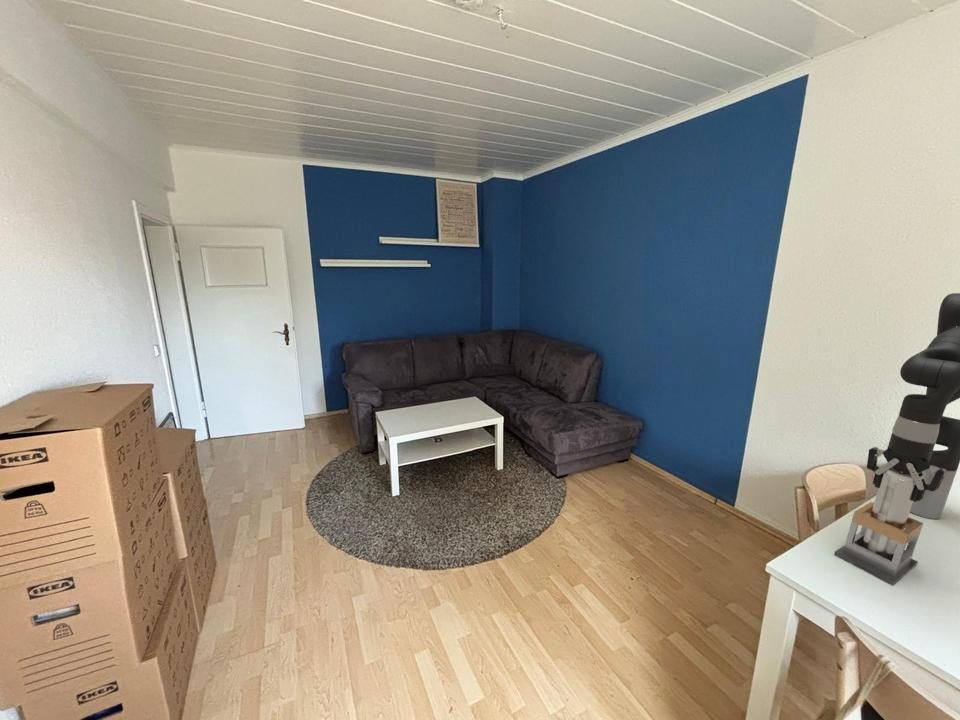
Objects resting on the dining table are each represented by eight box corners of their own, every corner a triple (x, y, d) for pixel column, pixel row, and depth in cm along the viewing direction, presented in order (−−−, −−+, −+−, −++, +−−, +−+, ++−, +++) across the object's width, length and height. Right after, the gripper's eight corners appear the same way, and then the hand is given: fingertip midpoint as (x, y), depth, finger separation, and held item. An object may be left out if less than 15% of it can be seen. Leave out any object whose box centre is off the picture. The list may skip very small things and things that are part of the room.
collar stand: (859, 537, 116) (871, 497, 112) (916, 564, 105) (931, 521, 102) (834, 554, 109) (845, 512, 105) (892, 585, 98) (908, 540, 95)
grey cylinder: (900, 563, 103) (928, 480, 97) (872, 560, 104) (897, 477, 98) (881, 546, 109) (906, 467, 103) (854, 543, 110) (877, 464, 104)
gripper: (962, 444, 93) (941, 504, 98) (881, 422, 106) (866, 477, 110) (951, 450, 90) (930, 512, 94) (869, 427, 102) (854, 483, 107)
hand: (895, 493), depth 102 cm, fingers closed on grey cylinder, 6 cm apart
